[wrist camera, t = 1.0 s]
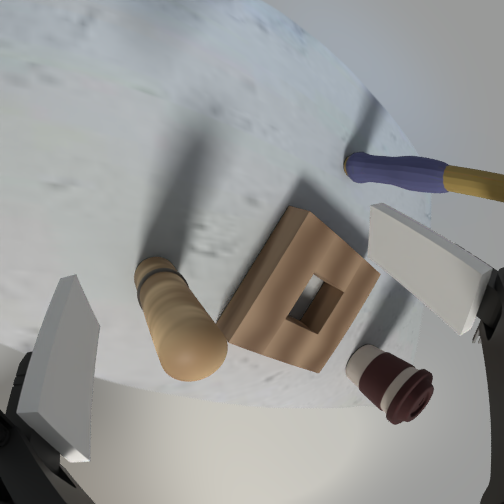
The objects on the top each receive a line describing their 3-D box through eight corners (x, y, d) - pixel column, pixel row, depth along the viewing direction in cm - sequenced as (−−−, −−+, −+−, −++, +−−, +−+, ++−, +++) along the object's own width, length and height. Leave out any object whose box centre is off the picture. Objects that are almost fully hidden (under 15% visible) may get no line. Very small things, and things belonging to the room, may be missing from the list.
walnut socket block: (215, 325, 35) (228, 342, 31) (288, 205, 35) (309, 211, 31) (302, 358, 43) (318, 373, 39) (360, 265, 43) (380, 274, 40)
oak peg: (124, 287, 29) (144, 371, 17) (147, 246, 29) (180, 309, 17) (163, 305, 31) (206, 390, 19) (185, 268, 31) (242, 335, 19)
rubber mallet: (352, 112, 35) (588, 122, 10) (382, 147, 39) (588, 178, 14) (310, 190, 36) (580, 263, 10) (346, 221, 39) (569, 299, 14)
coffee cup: (331, 367, 47) (396, 419, 34) (372, 326, 49) (439, 367, 36) (347, 391, 52) (402, 436, 39) (382, 355, 53) (440, 392, 41)
